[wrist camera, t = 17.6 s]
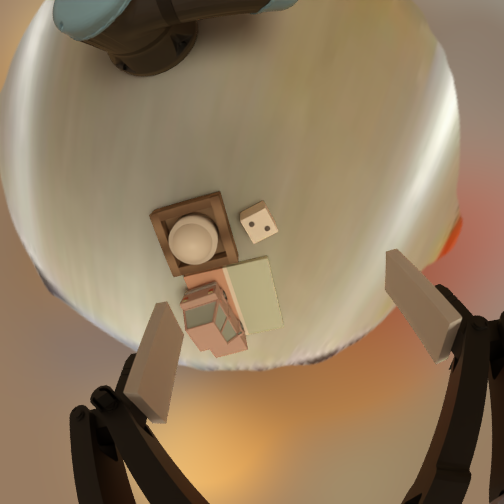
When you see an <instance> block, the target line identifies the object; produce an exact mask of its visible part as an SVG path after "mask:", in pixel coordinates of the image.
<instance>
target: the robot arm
mask: <svg viewBox="0 0 504 504" xmlns="http://www.w3.org/2000/svg"><path fill="white" fill-rule="evenodd" d="M297 1H298V0H55V2H54V6H53V20H54V23H55V25H56V27H57V28H58V29H59V30H60V31H61V32H63V33H65V34H67V35H69V36H70V37H71V38H73V39H74V40H76V41H81V42H84V43H86V44H89V45H92V46H94V47H97V48H99V49H102V50H104V51H107V52H108V55H109V57H110V59H111V61H112V62H113V63H114V65H116V66H117V67H118V68H119V69H121V70H122V71H124V72H127V73H129V74H132V75H136V76H151V75H156V74H159V73H162V72H165V71H167V70H169V69H171V68H172V67H174V66H176V65H177V64H178V63H180V62H181V61H182V60H183V59H184V58H185V57H186V56H187V55H188V53H189V52H190V51H191V49H192V48H193V46H194V44H195V41H196V38H197V34H198V24H197V20H201V19H207V18H213V17H219V16H227V15H235V14H245V13H250V14H258V13H262V12H269V11H282V10H285V9H288V8H289V7H292V6H293V5H294V4H295V3H296V2H297ZM385 290H386V292H387V293H388V294H389V296H390V297H391V298H392V300H393V301H394V303H395V304H396V305H397V307H398V308H399V310H400V311H401V312H402V314H403V315H404V317H405V318H406V320H407V321H408V322H409V324H410V325H411V327H412V328H413V330H414V331H415V333H416V334H417V336H418V337H419V339H420V340H421V342H422V343H423V345H424V346H425V348H426V350H427V351H428V353H429V354H430V356H431V357H432V359H433V360H434V362H435V364H438V363H440V362H442V361H444V360H446V359H448V357H449V355H450V352H451V351H452V352H453V354H454V358H453V361H452V363H451V365H450V368H449V370H450V369H451V373H450V378H449V382H448V387H447V391H446V395H445V400H444V403H443V407H442V410H441V414H440V417H439V420H438V424H437V427H436V430H435V434H434V436H433V439H432V441H431V444H430V447H429V450H428V452H427V455H426V457H425V460H424V462H423V465H422V467H421V469H420V472H419V474H418V476H417V478H416V480H415V482H414V484H413V485H412V487H411V488H410V490H409V491H408V493H407V494H406V496H405V498H404V500H403V501H402V503H401V504H462V502H463V499H464V497H465V494H466V492H467V489H468V486H469V484H470V480H471V473H470V471H469V468H470V465H471V461H472V458H473V455H474V451H475V447H476V444H477V440H478V435H479V431H480V427H481V422H482V417H483V411H484V405H485V399H486V391H487V383H488V381H489V389H490V399H491V411H492V461H491V474H490V485H489V504H504V311H503V313H501V316H500V319H498V320H493V321H487V320H486V319H485V318H484V317H482V316H473V315H472V314H471V313H470V312H469V310H468V309H467V308H466V307H465V306H464V305H463V304H462V303H461V302H460V301H459V300H458V299H457V297H456V296H455V295H453V293H452V292H451V291H450V290H449V289H448V288H446V287H444V286H443V285H441V284H438V285H436V286H434V285H433V284H432V283H431V282H430V281H429V280H428V279H427V278H426V277H425V276H424V275H423V274H422V273H421V272H420V271H419V270H418V269H417V268H416V267H415V266H414V265H413V264H412V263H411V262H410V261H409V260H408V259H407V258H406V257H405V256H404V255H403V254H402V253H401V252H400V251H399V250H398V249H394V250H390V251H386V277H385ZM183 337H184V334H183V332H182V330H181V328H180V326H179V324H178V322H177V320H176V318H175V316H174V314H173V312H172V310H171V308H170V306H169V304H168V302H162V303H156V305H155V307H154V310H153V312H152V315H151V317H150V320H149V322H148V325H147V327H146V330H145V333H144V335H143V338H142V341H141V343H140V346H139V349H138V351H137V353H135V354H131V355H130V356H129V357H128V359H127V360H126V362H125V364H124V367H123V370H122V372H121V376H120V378H119V381H118V383H117V386H116V389H115V392H114V391H113V390H112V389H111V387H109V386H107V385H105V386H100V387H98V388H97V389H96V390H95V391H94V392H93V393H92V395H91V398H90V400H91V403H92V404H93V405H94V406H95V407H96V409H93V410H89V409H88V408H87V407H86V406H84V405H79V406H77V407H75V408H74V409H73V410H72V412H71V414H70V440H71V453H72V463H73V471H74V479H75V485H76V491H77V497H78V502H79V504H136V502H135V499H134V496H133V493H132V490H131V487H130V484H129V480H128V477H127V473H126V469H125V466H124V462H125V463H126V465H127V467H128V469H129V471H130V472H131V474H132V476H133V478H134V479H135V481H136V482H137V484H138V486H139V487H140V489H141V490H142V492H143V493H144V495H145V497H146V498H147V500H148V501H149V502H150V504H209V503H208V502H207V500H206V499H205V498H204V497H203V496H202V495H201V494H200V493H199V492H198V491H197V489H196V488H195V487H194V486H193V485H192V484H191V483H190V482H189V480H188V479H187V478H186V477H185V475H184V474H183V473H182V472H181V470H180V469H179V468H178V467H177V465H176V464H175V463H174V462H173V460H172V459H171V458H170V456H169V455H168V454H167V452H166V451H165V450H164V448H163V447H162V445H161V444H160V443H159V441H158V440H157V438H156V437H155V435H154V434H153V432H152V431H151V429H150V428H149V426H148V425H146V420H147V418H148V419H149V420H150V421H151V422H152V423H166V421H167V416H168V411H169V405H170V400H171V394H172V389H173V384H174V379H175V375H176V369H177V365H178V360H179V356H180V351H181V346H182V342H183ZM123 460H124V462H123Z"/></svg>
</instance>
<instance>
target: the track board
mask: <svg viewBox="0 0 504 504" xmlns="http://www.w3.org/2000/svg"><path fill="white" fill-rule="evenodd" d="M184 280H185V282H186V284H187V287H188V289H189V290H192V289H195V288H198V287H201V286H204V285H206V284H209V283H212V282H217V284H218V286H219V288H220V289H222V290H224V291H225V293H226V296H227V300H228V301H229V302H228V304H229V306H230V308H231V310H232V312H233V313H234V315H235V317H236V319H237V320H238V321H240V322H241V323H242V325H243V328H244V330H245V335H249V334H254V333H259V332H264V331H269V330H274V329H278V328H283V327H284V324H283V320H282V316H281V311H280V307H279V303H278V299H277V294H276V290H275V286H274V282H273V277H272V273H271V269H270V265H269V261H268V256H263V257H259V258H254V259H250V260H246V261H241V262H238V263H233V264H229V265H225V266H220V267H216V268H212V269H207V270H203V271H198V272H194V273H189V274H185V275H184Z"/></svg>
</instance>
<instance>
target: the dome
mask: <svg viewBox="0 0 504 504" xmlns="http://www.w3.org/2000/svg"><path fill="white" fill-rule="evenodd" d="M218 238H219V232H218V228H217V226H216V224H215V222H214V221H213V220H212V219H211V218H210V217H208V216H207V215H205V214H202V213H197V212H193V213H188V214H185V215H183V216H182V217H180V218H179V219H178V220H177V222H176V223H175V225H174V226H173V228H172V230H171V231H170V234H169V247H170V249H171V251H172V253H173V254H174V256H175V257H176V258H177V259H179V260H180V261H182V262H184V263H187V264H191V265H197V264H202V263H205V262H207V261H208V260H209V259H211V258H212V257H213V255H214V254H215V252H216V249H217V243H218Z"/></svg>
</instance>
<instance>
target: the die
mask: <svg viewBox="0 0 504 504" xmlns="http://www.w3.org/2000/svg"><path fill="white" fill-rule="evenodd" d="M240 222H241V223H242V225H243V227H244V228H245V230H246V232H247V233H248V235H249V237H250V239H251V240H252V242H253V244H255V243H257V242H259V241H261V240H263V239H265V238H267V237H269V236H270V235H272V234H274V233H276V232H278V229H277V226H276V223H275V221H274V219H273V217H272V215H271V213H270V211H269V210H268V208H267V206H266V204H265V202H264V201H261V202H259V203H257V204H255V205H254V206H252V207H250V208H248V209H246V210H244V211H242V212H240Z"/></svg>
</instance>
